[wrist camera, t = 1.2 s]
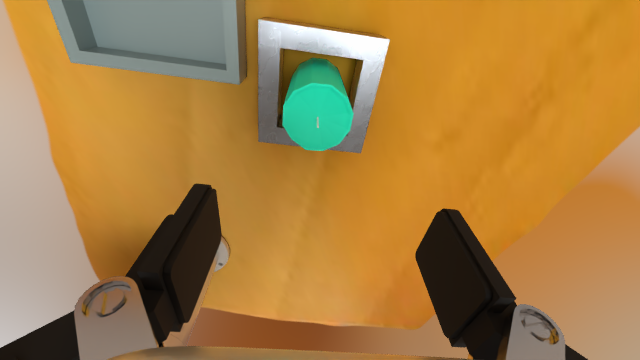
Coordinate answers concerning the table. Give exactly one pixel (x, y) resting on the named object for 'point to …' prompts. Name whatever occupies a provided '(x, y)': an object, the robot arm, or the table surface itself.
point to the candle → (317, 106)
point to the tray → (157, 36)
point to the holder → (321, 41)
